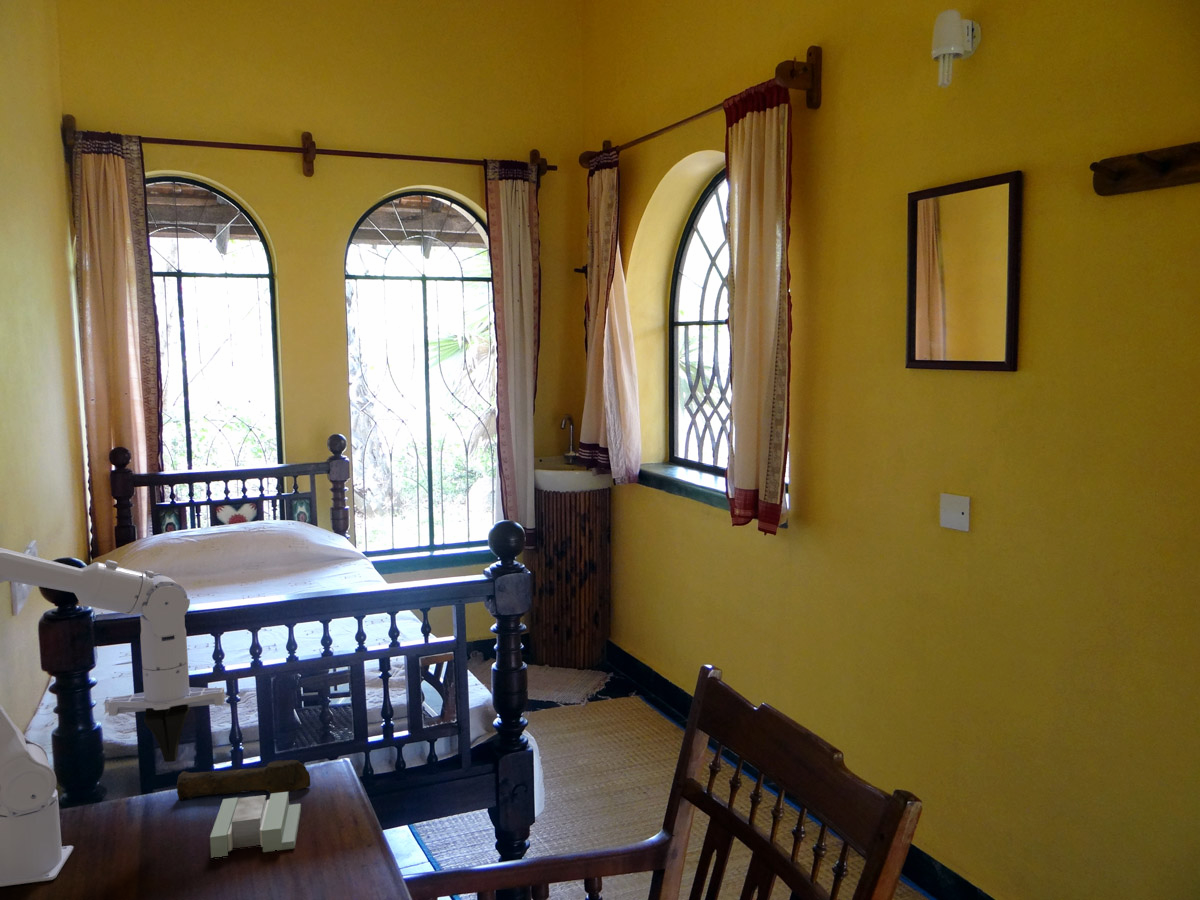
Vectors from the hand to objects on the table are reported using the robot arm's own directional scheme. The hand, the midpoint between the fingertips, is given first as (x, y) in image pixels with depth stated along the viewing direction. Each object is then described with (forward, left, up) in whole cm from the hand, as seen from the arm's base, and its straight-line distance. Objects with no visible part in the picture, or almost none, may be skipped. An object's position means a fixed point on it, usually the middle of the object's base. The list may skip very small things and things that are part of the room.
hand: (171, 758), depth 131 cm
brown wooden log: (+8, +9, -10) cm, 16 cm away
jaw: (+7, -5, -10) cm, 13 cm away
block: (+11, -5, -10) cm, 16 cm away
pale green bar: (+14, -5, -10) cm, 18 cm away
